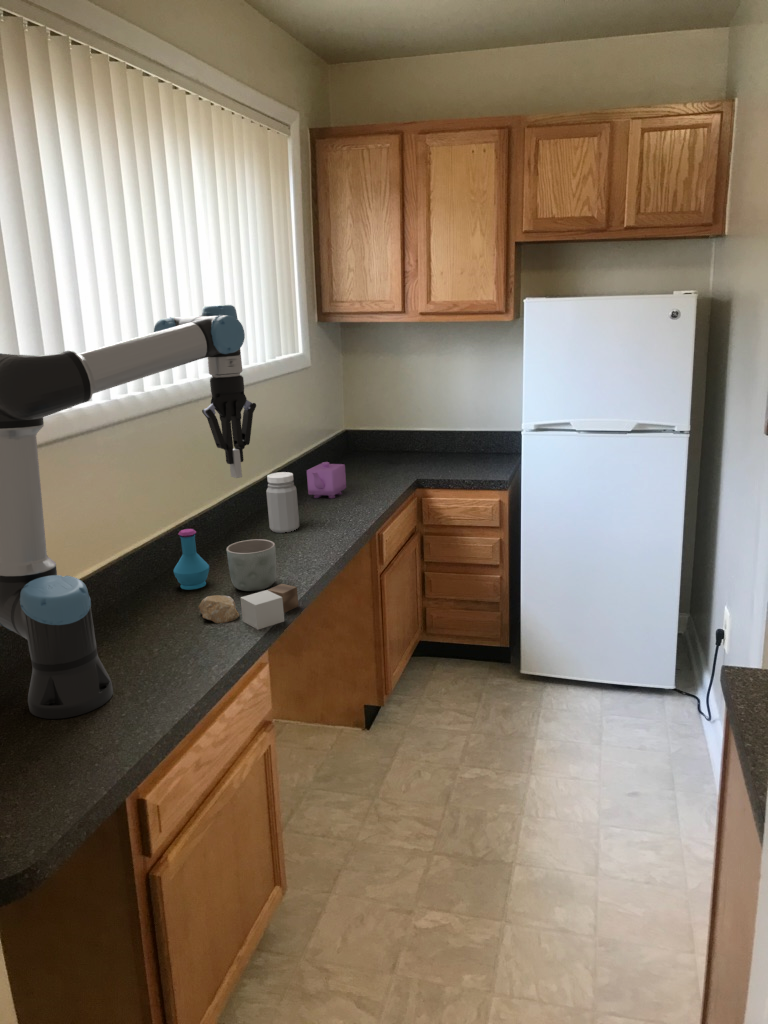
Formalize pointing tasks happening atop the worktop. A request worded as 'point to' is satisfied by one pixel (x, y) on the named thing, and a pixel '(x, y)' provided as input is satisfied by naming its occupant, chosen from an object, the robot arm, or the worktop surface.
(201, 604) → the stone
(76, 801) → the worktop surface
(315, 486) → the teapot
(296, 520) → the jar
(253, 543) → the planter
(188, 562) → the perfume bottle
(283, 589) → the walnut block
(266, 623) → the block
